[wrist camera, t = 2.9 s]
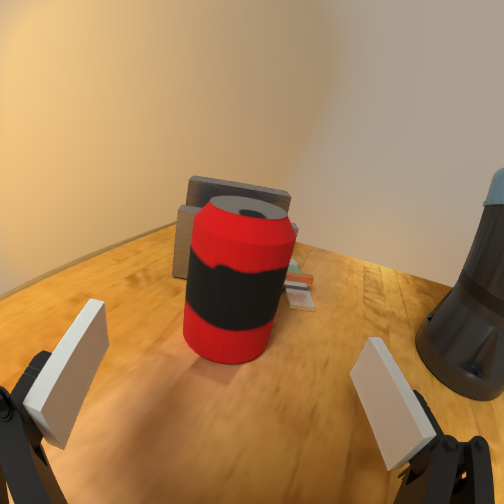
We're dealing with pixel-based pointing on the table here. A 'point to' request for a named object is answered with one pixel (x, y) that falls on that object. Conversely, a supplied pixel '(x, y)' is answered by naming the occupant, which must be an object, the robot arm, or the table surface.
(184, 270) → the grey block
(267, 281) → the soda can
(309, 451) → the table surface
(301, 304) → the gauge bed
